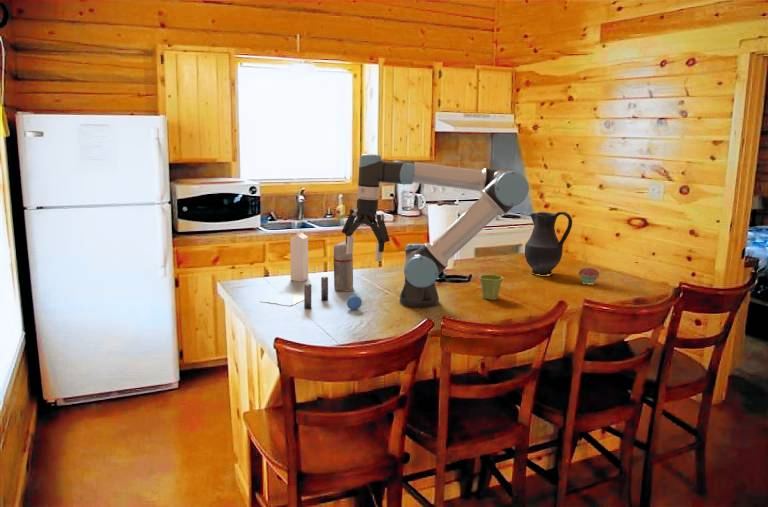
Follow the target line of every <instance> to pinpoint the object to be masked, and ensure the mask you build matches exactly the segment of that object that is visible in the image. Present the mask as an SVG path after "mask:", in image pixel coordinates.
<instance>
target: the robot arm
mask: <svg viewBox="0 0 768 507" xmlns="http://www.w3.org/2000/svg"><path fill="white" fill-rule="evenodd" d="M357 181H358V182H357V197H358V198H357V199H356V208H354V209H350V210H349V215H348V217H347V219H346V222H345V224H344V225H343V228H342V230H341V233H342V234H344V235H345V241H346V244H347V250H346V254H351V253H353V252H354V239H355V238H354V237H355V236H354V235H353V234H354V233H355V231H356V230H357V229H358V228H359V226H361V225H366V226H368V227H370V228H371V231H372V232H373V234H374V236H375V239H376V240H377V242H376V244H375V258H374V260H375V262H379V261H382V259H383V257H382V256H383V252H384V251H385V243H388V242H390V237H389V233H388V230H387V226H386V223H385V215H384V214H383V213H380V214H377V211H378V209H379V208H378V207H379V200H378V198H379V196H380V195H379V194H380V183H383V184H385V183H387V184H397V185H403V186H405V185H413V184H421V185H422V184H423V185H430V186H438V187H445V188H454V189H460V190H467V191H468V190H469V191H477V192H479V193H480V194H481V196H480V197H479V198H478V199H477V200H476V201H475V202H474V203H473V204H472V205H471V206H469V208H467V209H466V210H465V211H464V212H463V213H462V214H461V215H459V217H458V218H457V219H455V221H454V222H453V223H451V225H449V226H448V227H447V228H446V229H445V230H444V231H442V232H441V234H439V235H438V236H437V237H436V238H435V239H434V240H432V242H425V243H408V244H406V245H405V249H404V255H405V256H404V268H403V274H404V284H403V286H402V290H401V292H400V295H399V303H400V304H401V305H403V306H406V307H409V308H419V309H422V308H432V307H436V306H437V305H439V303H440V296H439V293H438V289H437V286H436V281H437V278H438V276H439V275H440V274H441V273H442V272H443V271H445V269H447V268H448V264H449V262H448V261H449V260H450V259H452V258H453V257H454V255H456V254H457V253H458V252H459V251H460V250H461V249H462V248H463V247H464V246H466V245H467V243H468V242H470V241H471V240H472V239H474V237H475V236H477V235H478V234H479V233H480V232H481V231H482V230H483V229H484V228H485V227H486V226H488V225H489V224H490V223H491V222H492V221H493V220H494V219H495V218H496V217H498V215H506V214H507V213H508V212H509V211H510V210H511V209H512V208H514V207H516V206H518V205H521V204H522V203H523V202H524V201H526V199H527V198H528V195H529V192H530V185H529V182H528V180H527V178H526V177H525V175H524V174H523V173H522V172H520V171H518V170H514V169H512V168H486V167H485V168H483V169H474V168H465V167H458V166H457V167H456V166H448V165H441V164H440V165H439V164H432V163H425V162H417V161H415V162H414V161H407V160H403V159H395V160H393V161H389V160H387V161H386V160H382V156H381V155H380V154H376V153H375V154H374V153H362V154H361V155H360V157H359V165H358V180H357Z"/></svg>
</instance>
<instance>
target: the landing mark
mask: <svg viewBox="0 0 768 507" xmlns="http://www.w3.org/2000/svg"><path fill="white" fill-rule="evenodd" d="M293 296H294V298H293V302H294V301H295V302H294V303H293V306H294V304H295V305H296V303H297V304H298V303H301V302H304V301H303V300H304V295H299V294H293ZM290 305H291V304H290ZM281 306H284V305H283V304H282V305H281Z"/></svg>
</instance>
